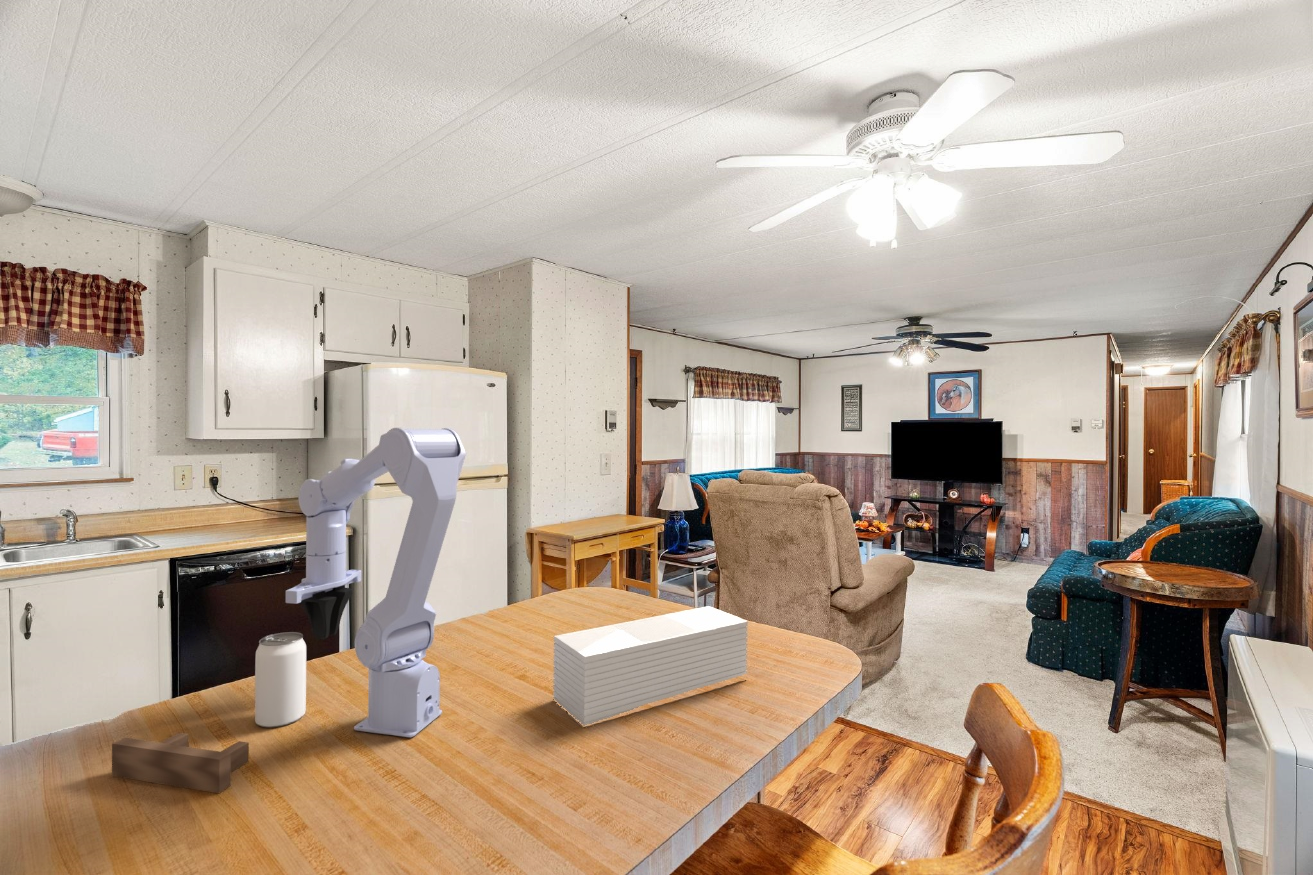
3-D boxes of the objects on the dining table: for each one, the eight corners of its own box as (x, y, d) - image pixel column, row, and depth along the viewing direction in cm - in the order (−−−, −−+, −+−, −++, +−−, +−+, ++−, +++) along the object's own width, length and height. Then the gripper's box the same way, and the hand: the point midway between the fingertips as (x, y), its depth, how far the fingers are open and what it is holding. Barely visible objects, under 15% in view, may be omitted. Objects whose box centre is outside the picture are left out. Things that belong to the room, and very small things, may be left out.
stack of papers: (708, 662, 117) (709, 605, 116) (746, 681, 108) (747, 620, 108) (553, 702, 99) (553, 635, 98) (583, 729, 90) (584, 656, 90)
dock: (264, 764, 79) (265, 733, 79) (219, 793, 73) (219, 759, 73) (164, 749, 82) (164, 719, 82) (111, 775, 76) (112, 743, 76)
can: (282, 731, 88) (282, 647, 87) (243, 726, 89) (244, 643, 89) (315, 710, 94) (316, 632, 94) (279, 706, 95) (280, 629, 95)
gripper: (336, 543, 108) (336, 620, 108) (268, 560, 94) (268, 648, 94) (372, 545, 106) (371, 623, 106) (308, 563, 92) (307, 652, 92)
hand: (325, 635), depth 100 cm, fingers closed
